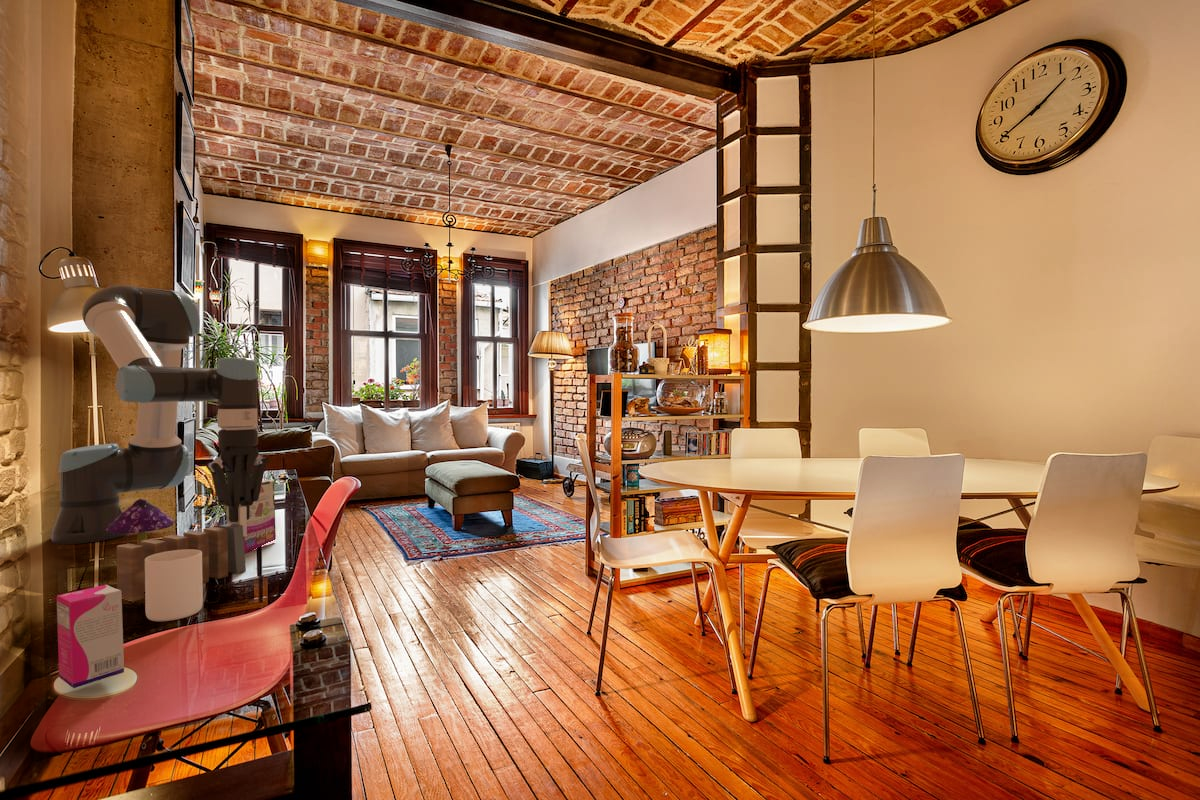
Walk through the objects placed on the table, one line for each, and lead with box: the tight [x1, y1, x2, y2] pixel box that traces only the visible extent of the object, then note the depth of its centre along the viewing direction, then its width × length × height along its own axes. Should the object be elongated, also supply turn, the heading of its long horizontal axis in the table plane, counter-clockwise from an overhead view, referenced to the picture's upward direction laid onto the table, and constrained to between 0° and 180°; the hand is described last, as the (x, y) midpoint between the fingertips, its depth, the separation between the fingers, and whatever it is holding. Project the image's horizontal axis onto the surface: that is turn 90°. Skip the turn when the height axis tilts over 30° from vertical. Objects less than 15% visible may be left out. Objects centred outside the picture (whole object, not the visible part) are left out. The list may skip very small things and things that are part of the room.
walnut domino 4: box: [183, 530, 210, 584], centre depth 127 cm, size 2×5×10 cm, turn 63°
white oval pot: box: [144, 549, 204, 622], centre depth 110 cm, size 12×8×10 cm
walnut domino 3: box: [162, 534, 188, 552], centre depth 123 cm, size 2×5×10 cm, turn 63°
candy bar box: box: [225, 479, 277, 554], centre depth 153 cm, size 11×5×16 cm, turn 168°
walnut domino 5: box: [202, 526, 229, 580], centre depth 131 cm, size 2×5×10 cm, turn 63°
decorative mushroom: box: [106, 498, 176, 545], centre depth 140 cm, size 12×12×15 cm
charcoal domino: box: [218, 523, 247, 575], centre depth 134 cm, size 2×5×10 cm, turn 63°
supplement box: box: [56, 584, 125, 689], centre depth 84 cm, size 6×6×12 cm
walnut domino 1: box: [116, 542, 145, 601], centre depth 116 cm, size 2×5×10 cm, turn 63°
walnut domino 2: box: [140, 538, 166, 592], centre depth 120 cm, size 2×5×10 cm, turn 63°
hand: (239, 535), depth 135 cm, fingers closed
